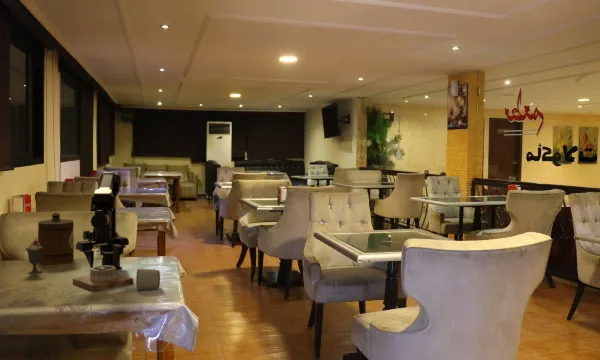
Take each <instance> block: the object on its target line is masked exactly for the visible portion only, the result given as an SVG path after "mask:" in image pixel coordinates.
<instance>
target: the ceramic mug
mask: <svg viewBox="0 0 600 360" xmlns="http://www.w3.org/2000/svg"><path fill="white" fill-rule="evenodd" d="M135 279H136V285H135V286H136V291H148V290H157V289H159V288H160V287H161V271H160V270H159V269H156V268H155V269H152V268H151V269H149V268H138V269H137V270H136V277H135Z"/></svg>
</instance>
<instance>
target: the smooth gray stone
mask: <svg viewBox="0 0 600 360" xmlns="http://www.w3.org/2000/svg"><path fill="white" fill-rule="evenodd" d="M108 269H110V267H98V268H96V270H108Z"/></svg>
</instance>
